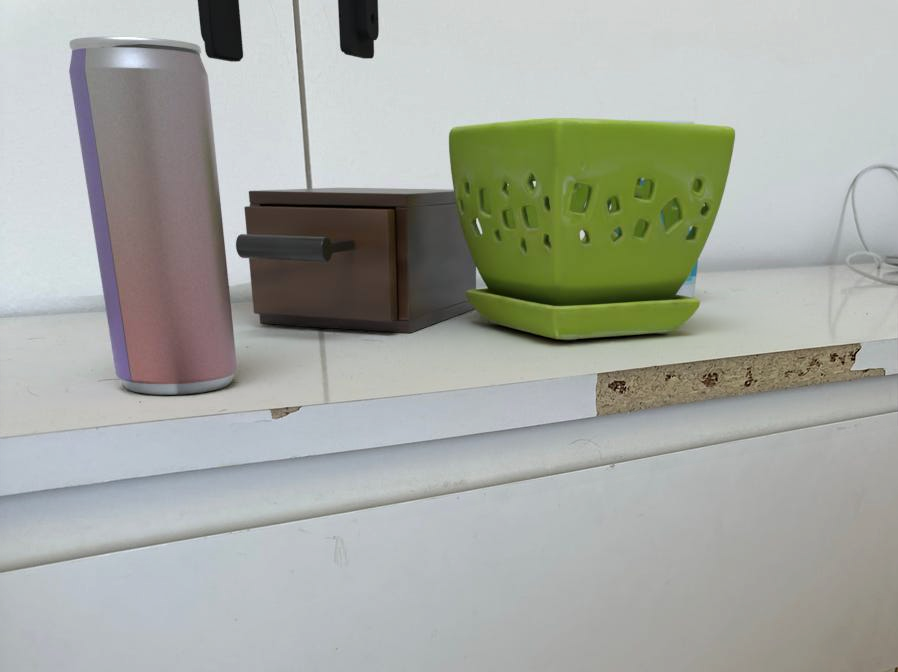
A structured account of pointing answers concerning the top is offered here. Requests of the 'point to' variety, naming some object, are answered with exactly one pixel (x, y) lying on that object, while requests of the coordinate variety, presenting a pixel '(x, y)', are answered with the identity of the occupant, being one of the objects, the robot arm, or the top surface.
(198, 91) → the beverage can
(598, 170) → the flower pot
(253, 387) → the top surface
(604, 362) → the top surface
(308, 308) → the drawer
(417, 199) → the cabinet
